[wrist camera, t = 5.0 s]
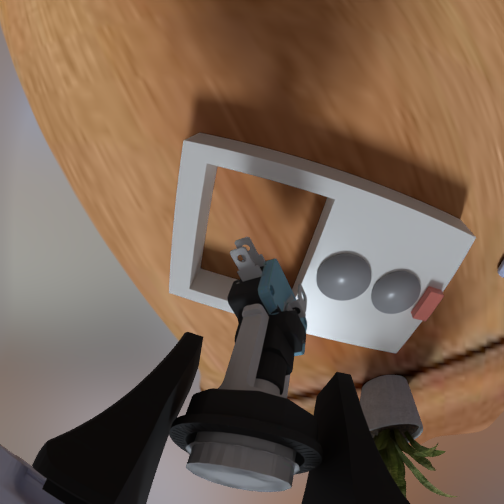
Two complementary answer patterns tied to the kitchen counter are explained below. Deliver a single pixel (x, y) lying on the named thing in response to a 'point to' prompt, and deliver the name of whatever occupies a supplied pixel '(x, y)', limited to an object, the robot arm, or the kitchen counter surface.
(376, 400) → the house plant
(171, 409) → the robot arm
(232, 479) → the push button
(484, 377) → the kitchen counter surface
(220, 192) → the kitchen counter surface
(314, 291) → the control panel
